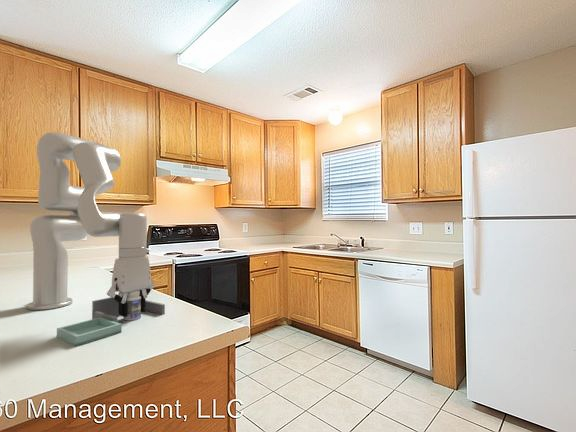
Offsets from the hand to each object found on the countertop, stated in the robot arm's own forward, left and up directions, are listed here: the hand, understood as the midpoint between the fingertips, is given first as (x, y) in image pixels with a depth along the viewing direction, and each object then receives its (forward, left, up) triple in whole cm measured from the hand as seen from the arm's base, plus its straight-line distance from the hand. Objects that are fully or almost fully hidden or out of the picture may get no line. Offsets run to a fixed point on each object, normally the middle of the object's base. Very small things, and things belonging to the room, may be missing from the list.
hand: (132, 312), depth 92 cm
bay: (-1, 0, -2) cm, 2 cm away
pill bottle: (0, 0, -2) cm, 2 cm away
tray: (+3, -14, -2) cm, 14 cm away
